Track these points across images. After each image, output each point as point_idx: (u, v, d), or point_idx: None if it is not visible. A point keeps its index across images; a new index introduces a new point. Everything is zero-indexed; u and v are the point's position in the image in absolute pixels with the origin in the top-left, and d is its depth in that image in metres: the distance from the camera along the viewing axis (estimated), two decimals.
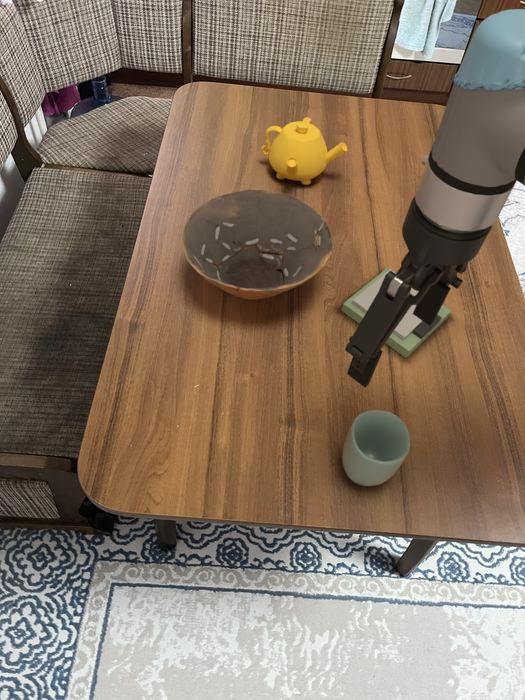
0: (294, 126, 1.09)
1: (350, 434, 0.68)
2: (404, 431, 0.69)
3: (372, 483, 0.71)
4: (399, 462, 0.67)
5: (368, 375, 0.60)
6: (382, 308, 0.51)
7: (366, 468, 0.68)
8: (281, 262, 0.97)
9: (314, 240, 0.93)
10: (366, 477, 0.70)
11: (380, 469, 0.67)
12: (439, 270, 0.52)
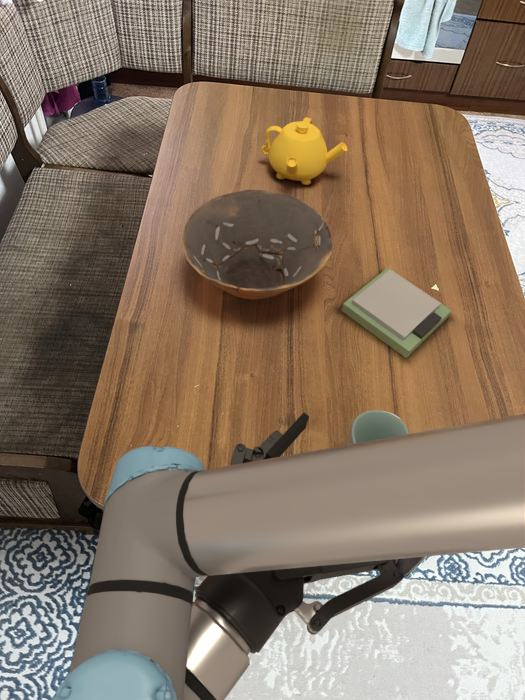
0: (294, 126, 1.09)
1: (350, 434, 0.68)
2: (404, 431, 0.69)
3: None
4: None
5: None
6: (343, 610, 0.48)
7: None
8: (281, 262, 0.97)
9: (314, 240, 0.93)
10: None
11: None
12: (276, 578, 0.48)
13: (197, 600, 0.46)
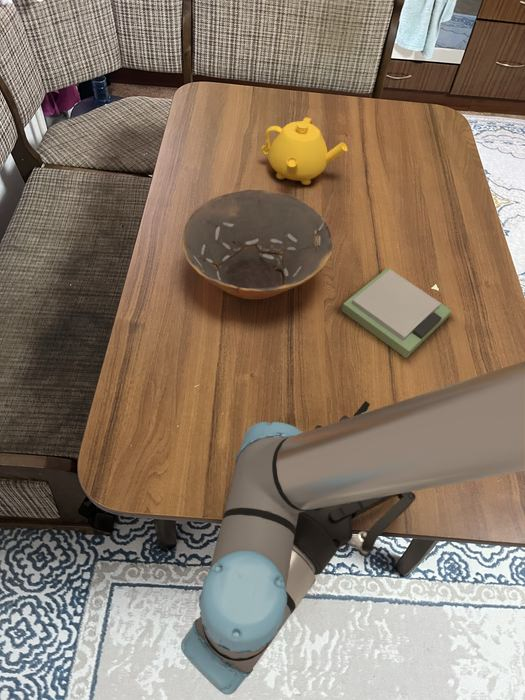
0: (294, 126, 1.09)
1: None
2: None
3: None
4: None
5: None
6: (381, 532, 0.65)
7: None
8: (281, 262, 0.97)
9: (314, 240, 0.93)
10: None
11: None
12: (332, 520, 0.63)
13: None
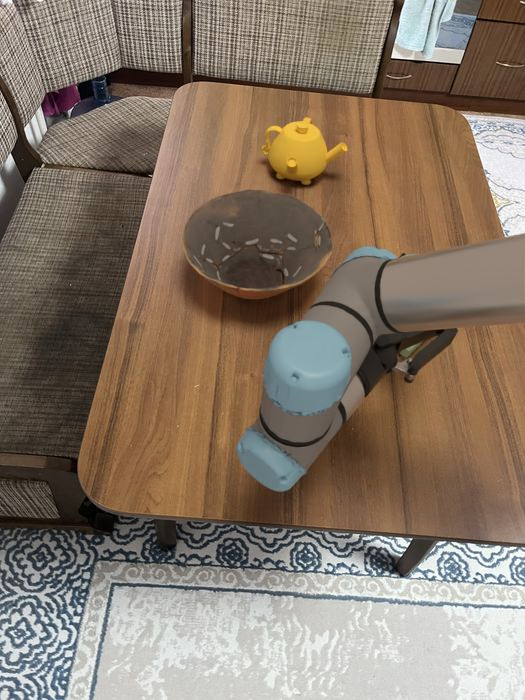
0: (294, 126, 1.09)
1: None
2: None
3: None
4: None
5: None
6: (426, 361, 0.65)
7: None
8: (281, 262, 0.97)
9: (314, 240, 0.93)
10: None
11: None
12: (377, 346, 0.64)
13: None
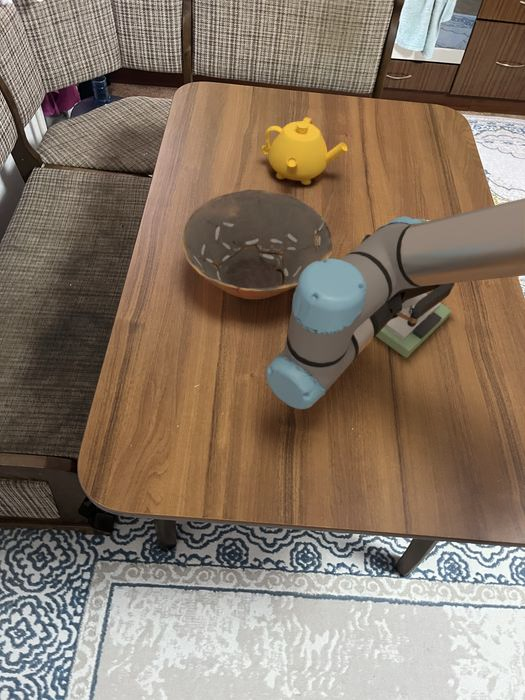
0: (294, 126, 1.09)
1: None
2: None
3: None
4: None
5: None
6: (426, 308, 0.76)
7: None
8: (281, 262, 0.97)
9: (314, 240, 0.93)
10: None
11: None
12: None
13: None
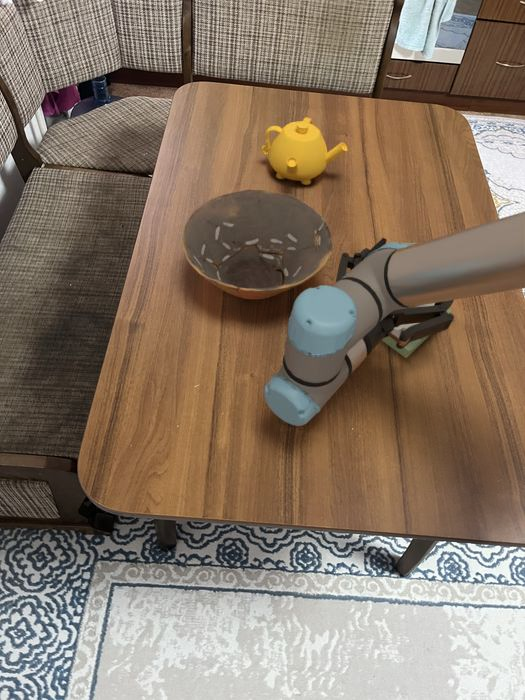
0: (294, 126, 1.09)
1: None
2: None
3: None
4: None
5: None
6: (418, 335, 0.79)
7: None
8: (281, 262, 0.97)
9: (314, 240, 0.93)
10: None
11: None
12: None
13: None
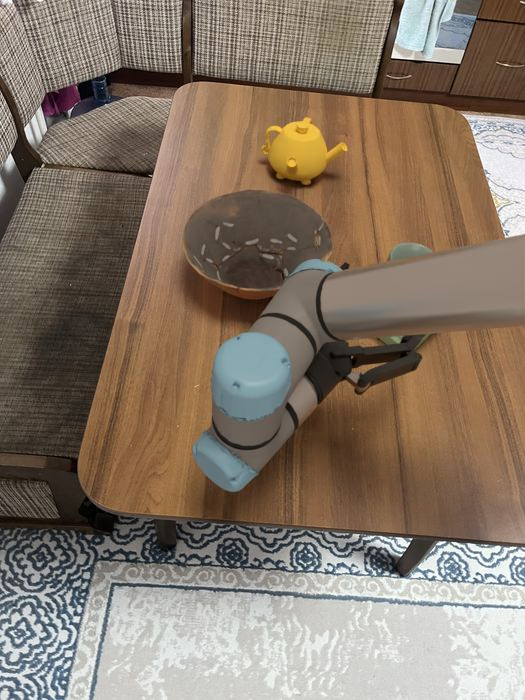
0: (294, 126, 1.09)
1: (389, 258, 0.84)
2: None
3: None
4: None
5: None
6: (380, 378, 0.68)
7: None
8: (281, 262, 0.97)
9: (314, 240, 0.93)
10: None
11: None
12: (333, 355, 0.68)
13: None
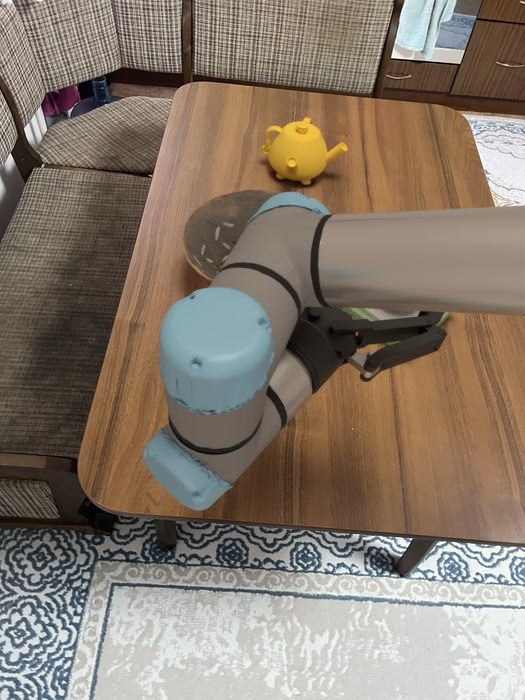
0: (294, 126, 1.09)
1: None
2: None
3: None
4: None
5: None
6: (393, 361, 0.53)
7: None
8: None
9: None
10: None
11: None
12: (332, 330, 0.52)
13: None
